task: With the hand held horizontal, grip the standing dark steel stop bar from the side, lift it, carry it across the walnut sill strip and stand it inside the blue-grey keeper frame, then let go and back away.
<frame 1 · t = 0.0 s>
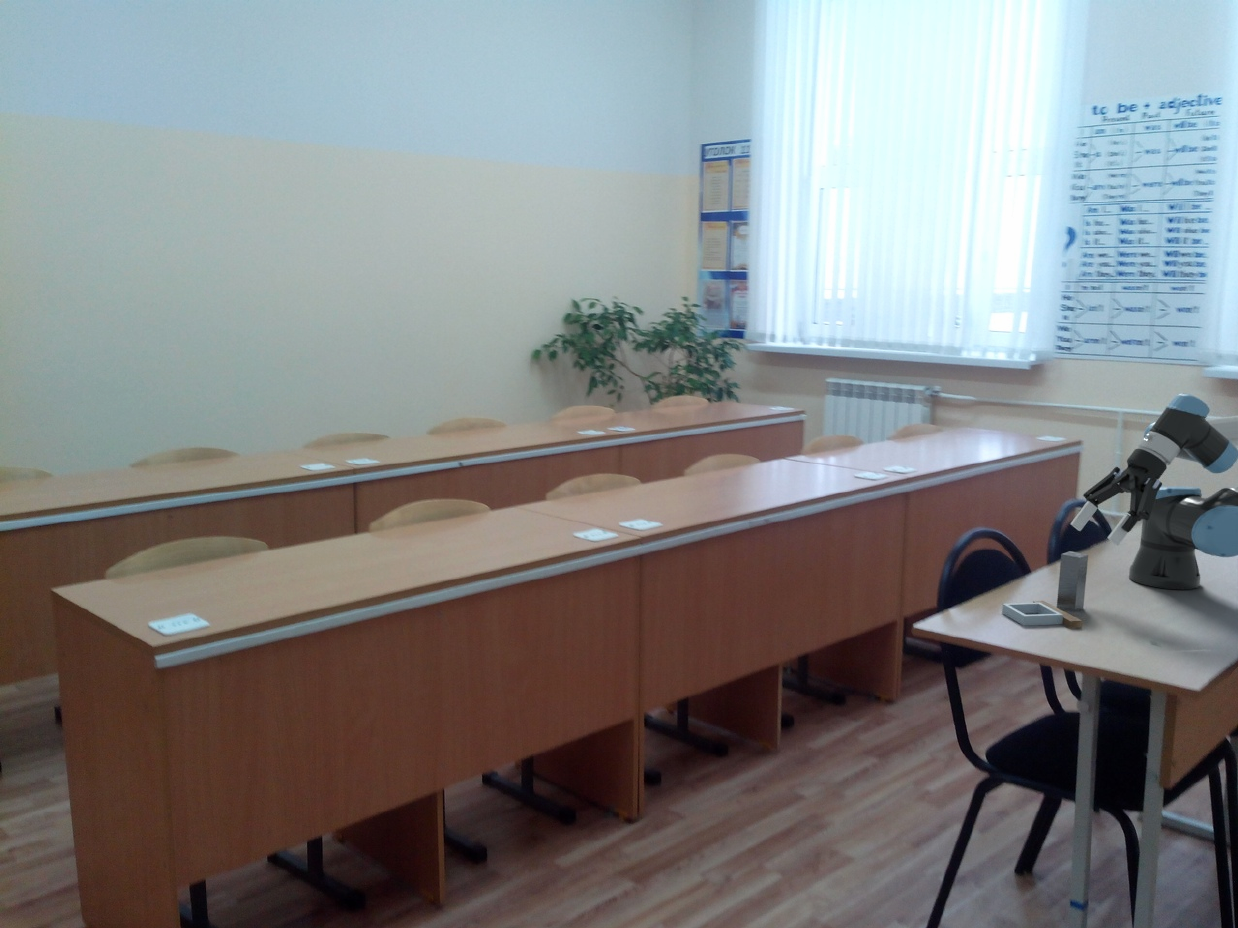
hand: (1093, 534, 231), 15 cm above the table, tool tilted 35°, fingers open, 13 cm apart
stop bar: (1069, 607, 228), on the table
sill strip: (1056, 617, 221), on the table
keeper: (1031, 618, 220), on the table
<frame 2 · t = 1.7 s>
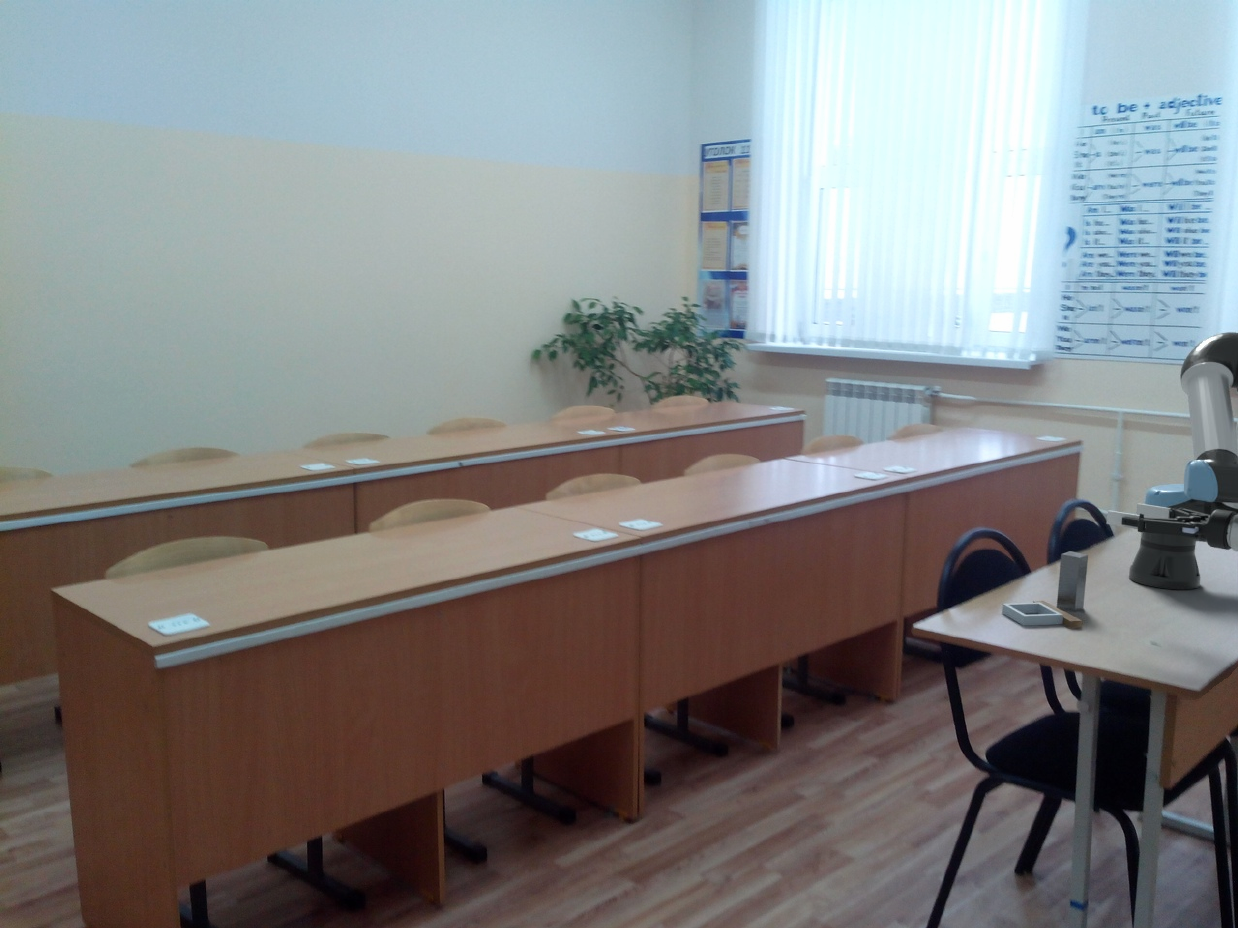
hand: (1122, 513, 218), 23 cm above the table, tool horizontal, fingers open, 13 cm apart
nothing on the table moved.
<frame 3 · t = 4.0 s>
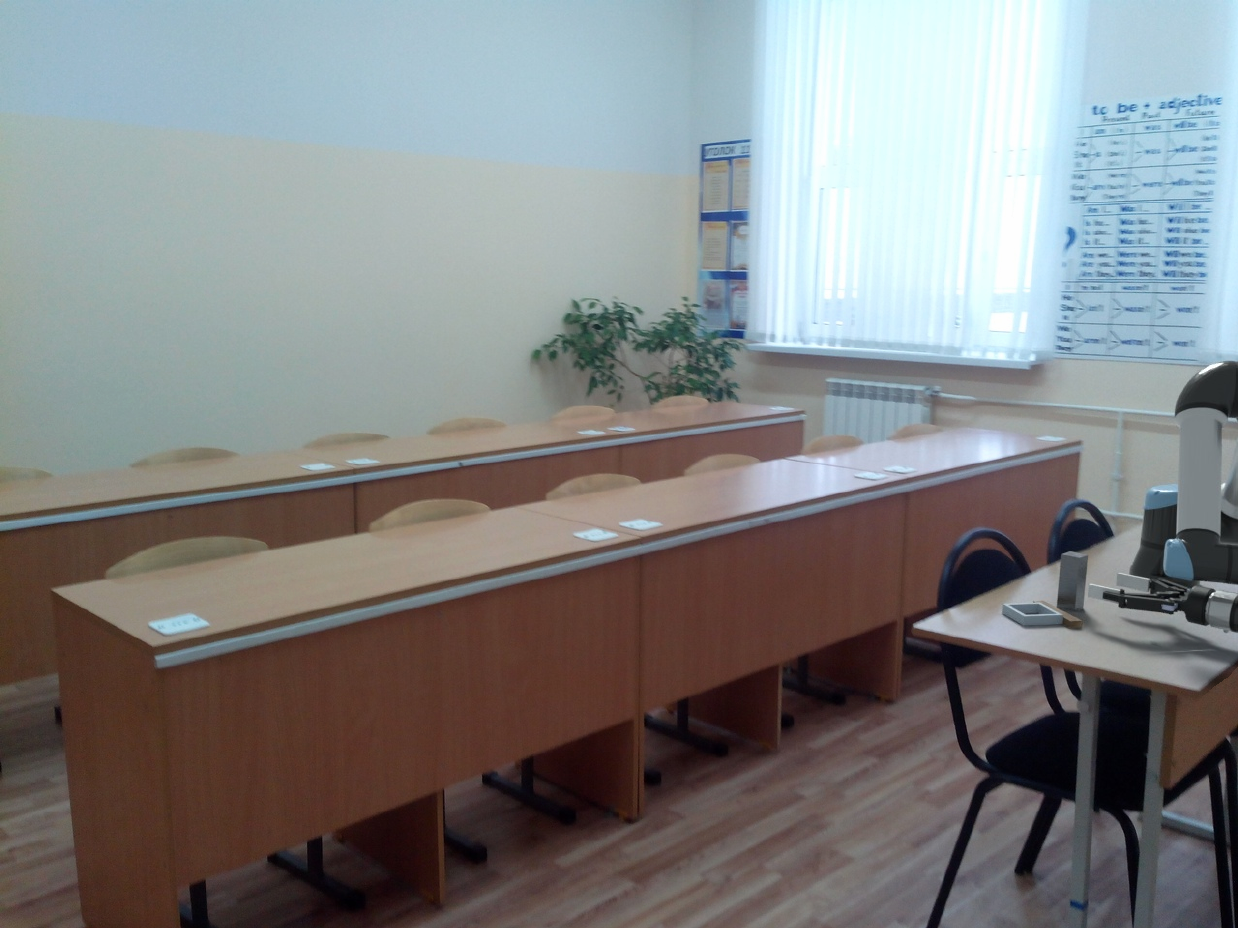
hand: (1103, 584, 222), 7 cm above the table, tool horizontal, fingers open, 13 cm apart
nothing on the table moved.
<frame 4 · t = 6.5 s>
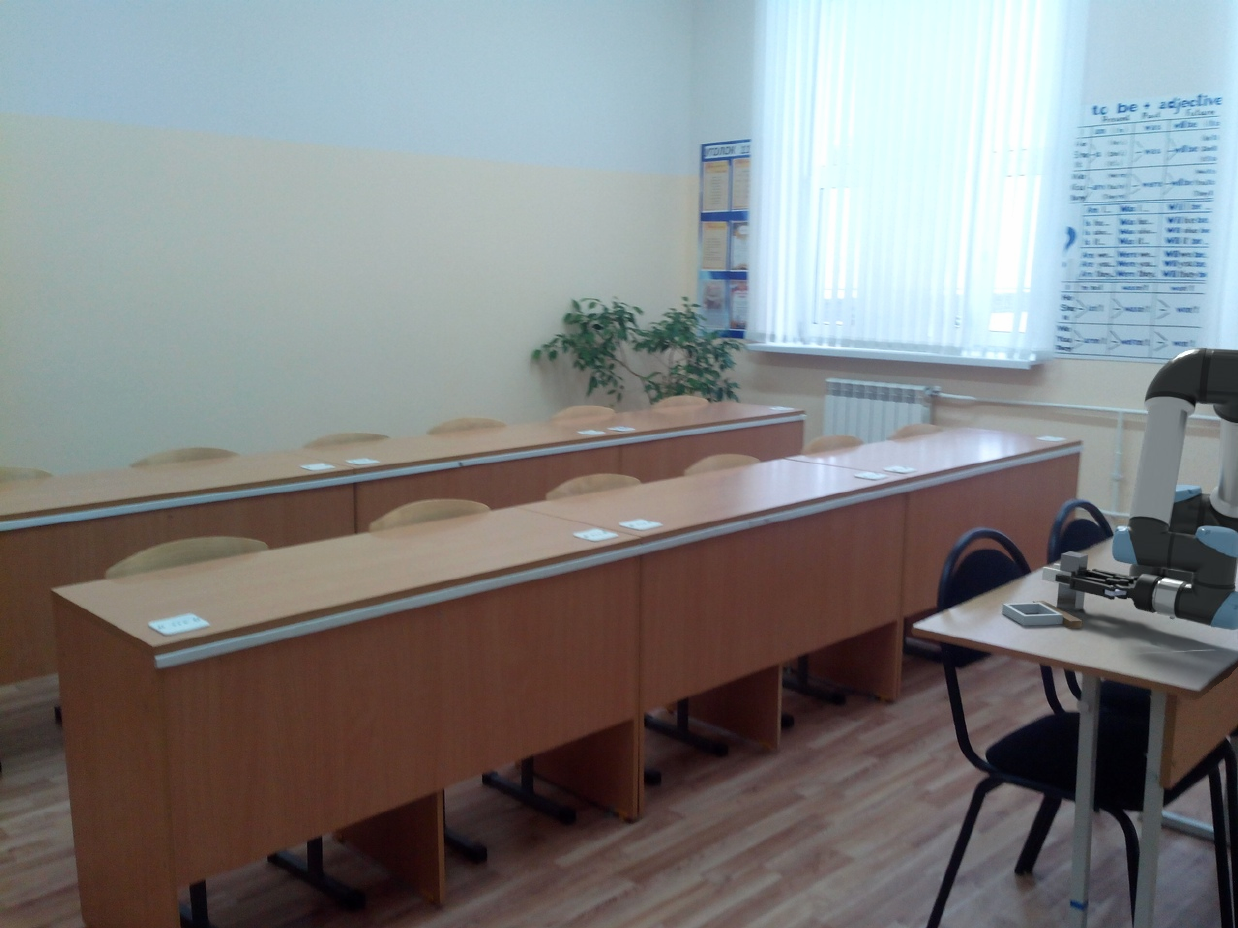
hand: (1048, 571, 231), 7 cm above the table, tool horizontal, fingers closed on stop bar, 4 cm apart
stop bar: (1070, 607, 228), on the table, touching gripper
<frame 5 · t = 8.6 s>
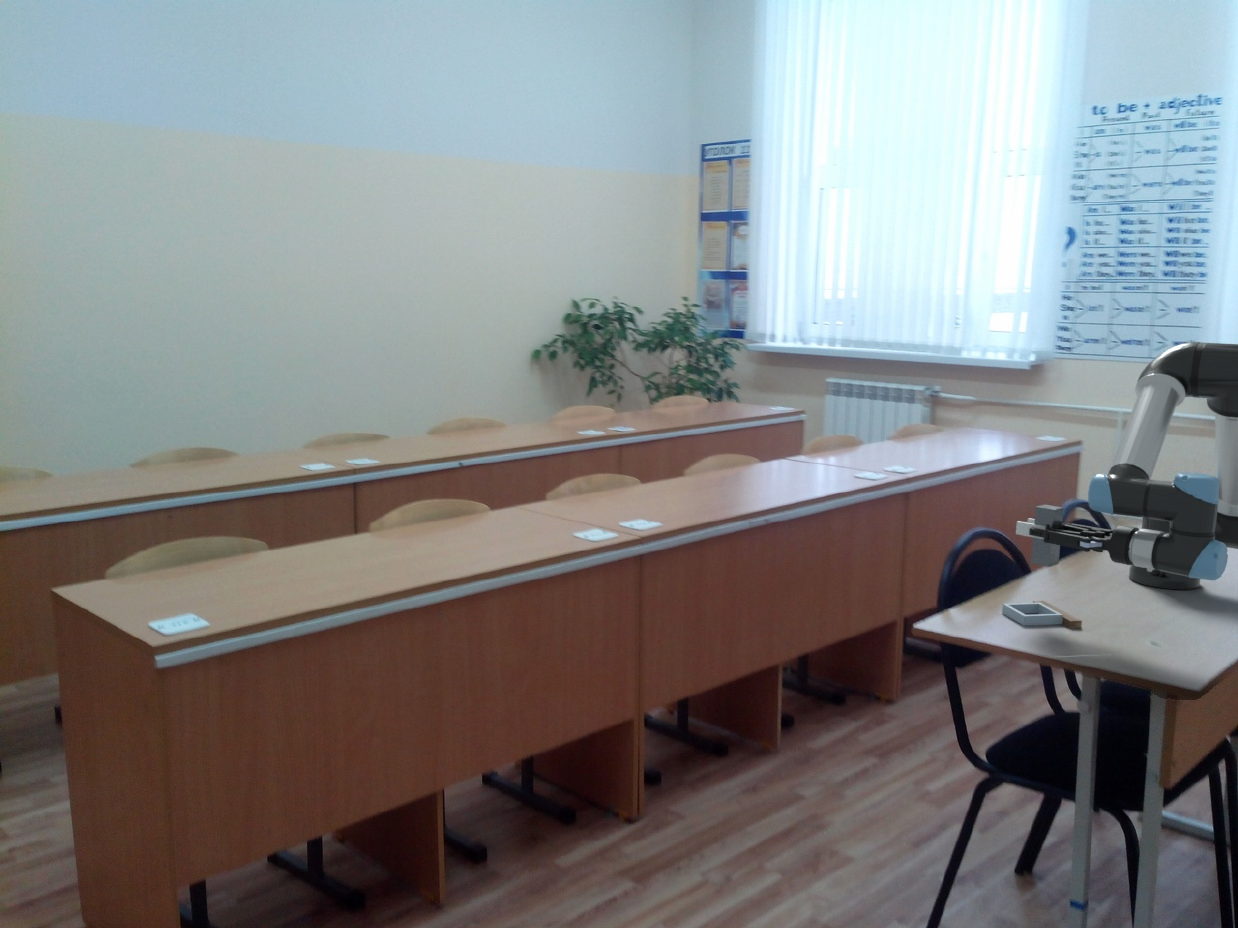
hand: (1022, 526, 222), 19 cm above the table, tool horizontal, fingers closed on stop bar, 4 cm apart
stop bar: (1044, 563, 219), point 12 cm above the table, touching gripper
when the fingers open (8 cm above the table, at t = 10.9 s): stop bar stays where it is, resting in keeper.
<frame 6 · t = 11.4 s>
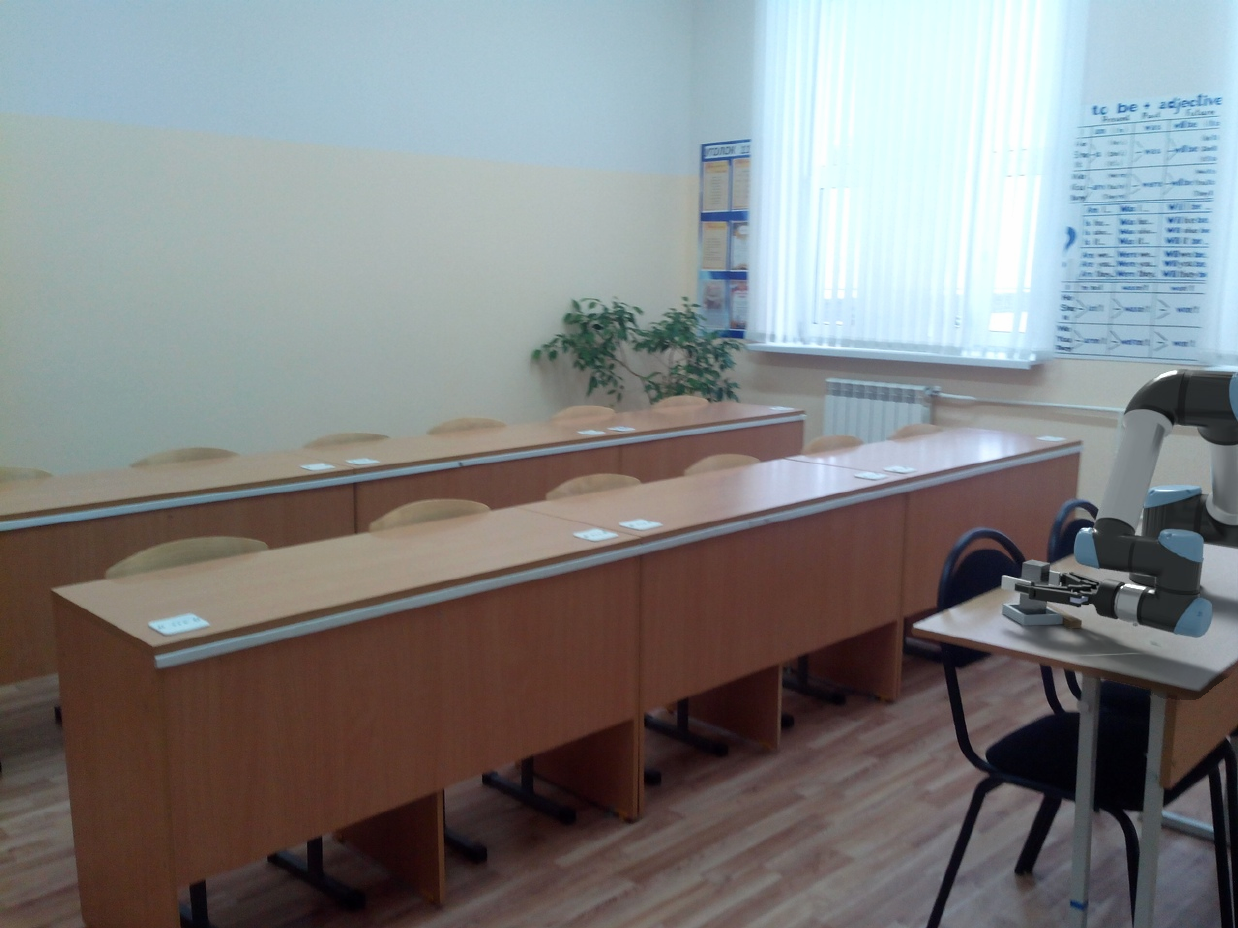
hand: (1016, 577, 222), 8 cm above the table, tool horizontal, fingers open, 11 cm apart
stop bar: (1031, 618, 220), resting in keeper
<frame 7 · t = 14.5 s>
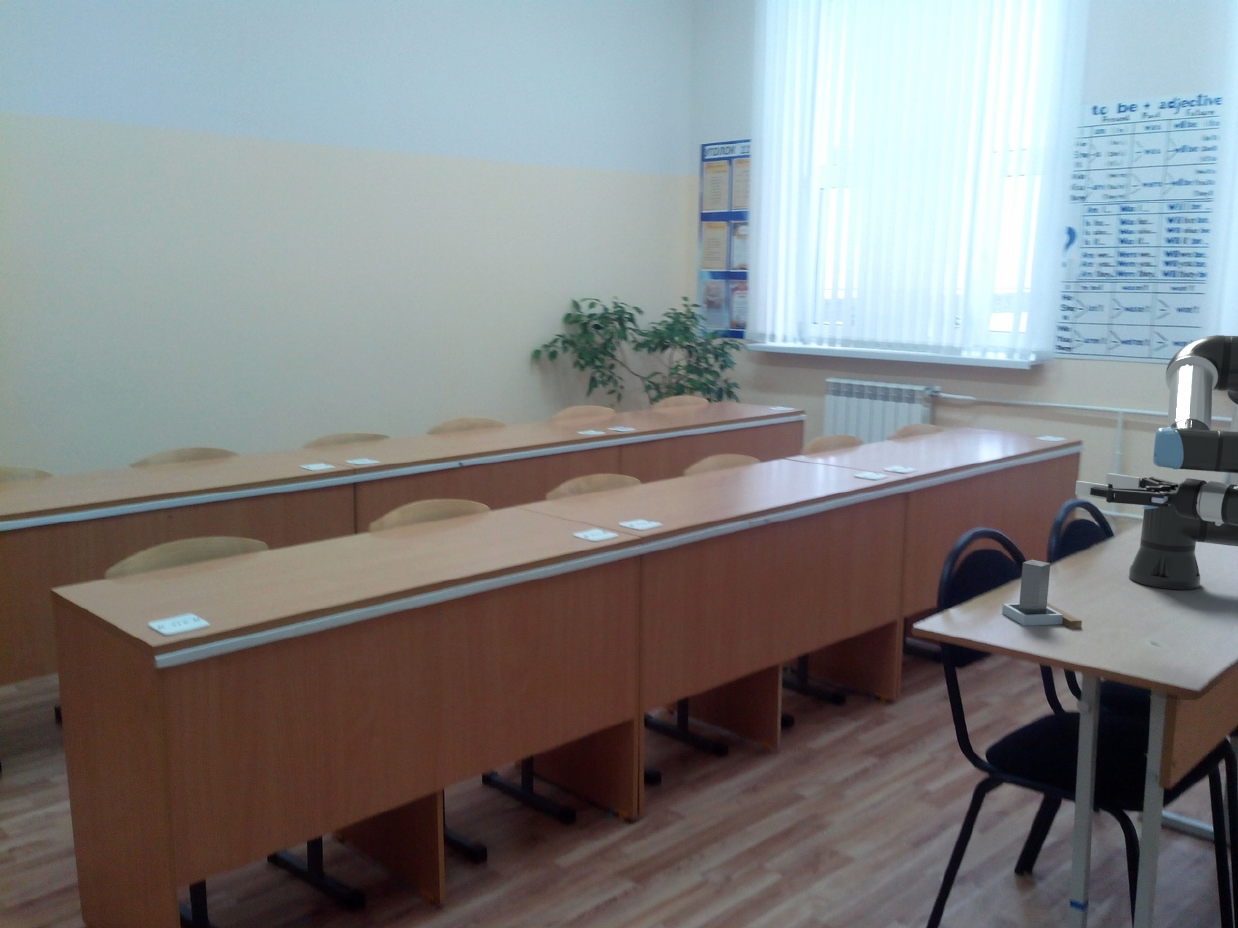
hand: (1091, 483, 214), 29 cm above the table, tool horizontal, fingers open, 13 cm apart
nothing on the table moved.
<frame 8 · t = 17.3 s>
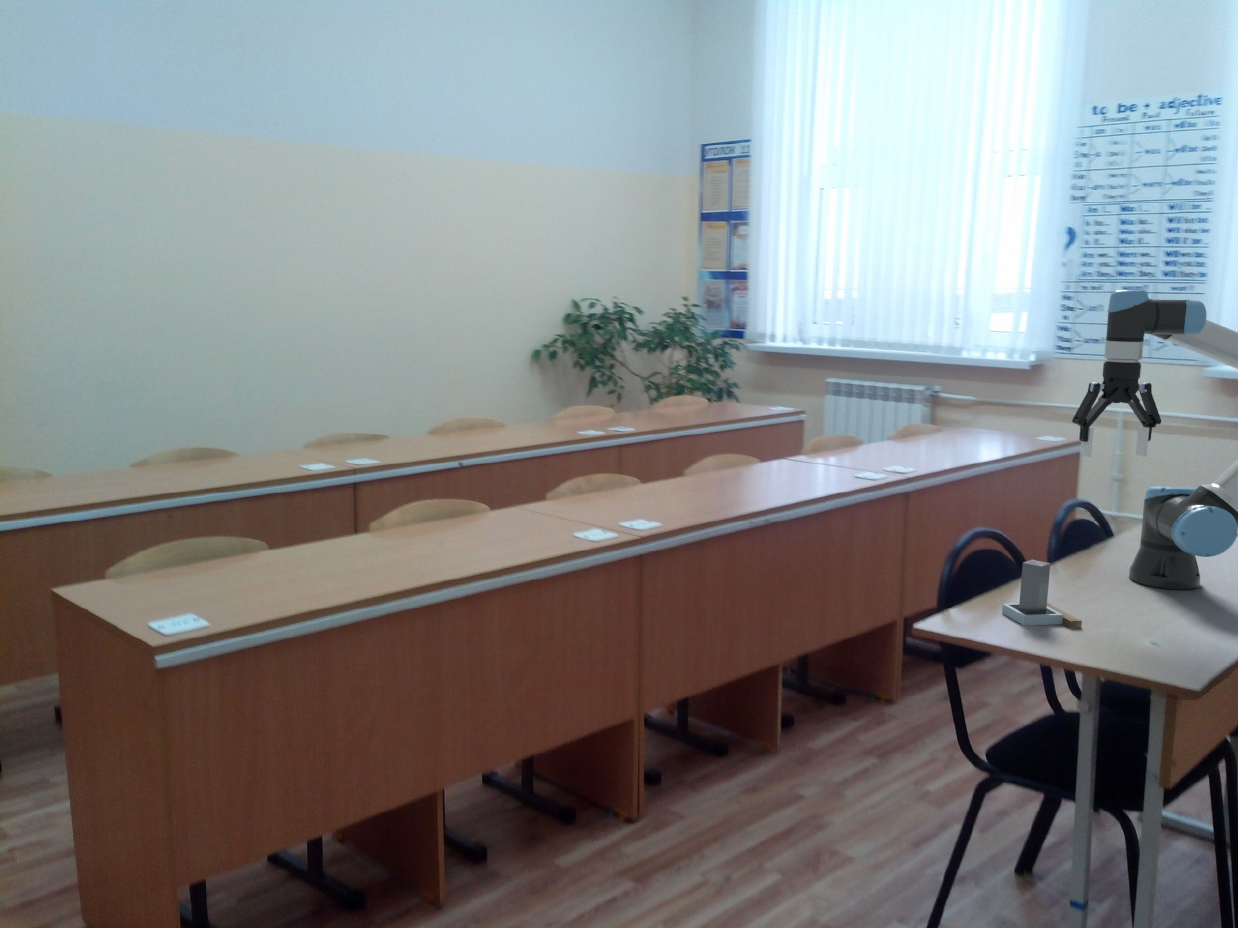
hand: (1113, 456, 235), 32 cm above the table, tool pointing down, fingers open, 13 cm apart
nothing on the table moved.
at the end: stop bar 0.0 cm off-centre on the keeper, point 0.0 cm above the keeper's base; stop bar tilted 0°; the gripper is holding nothing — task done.
